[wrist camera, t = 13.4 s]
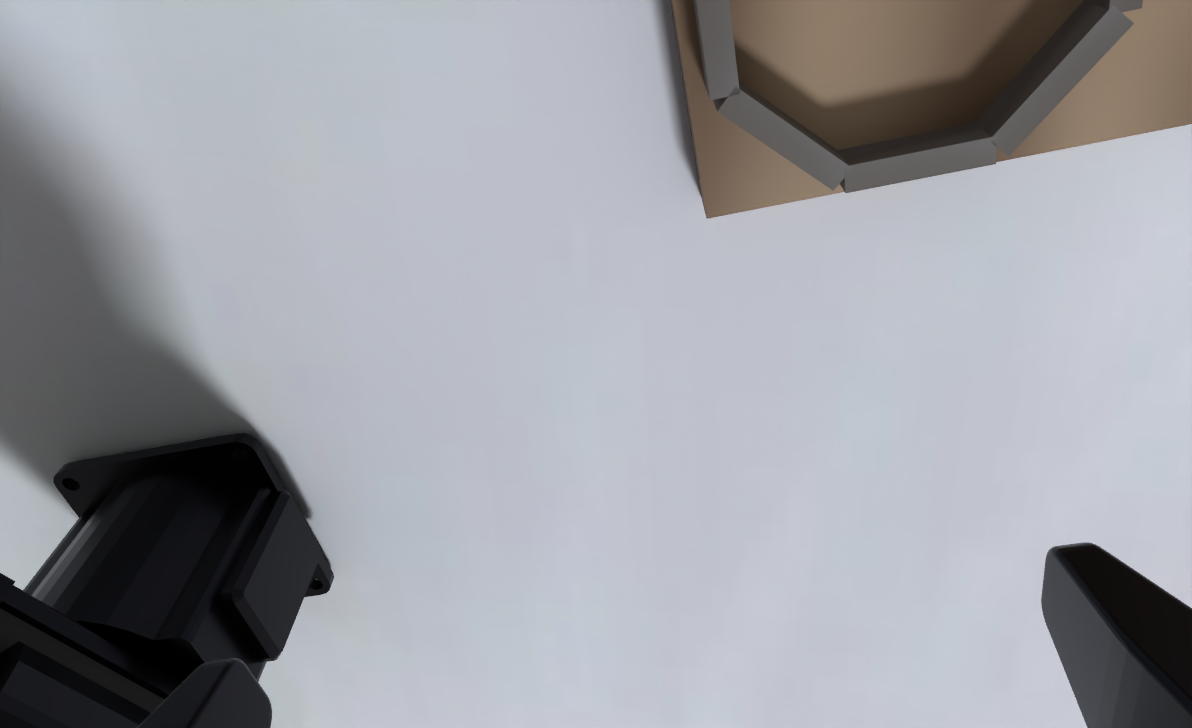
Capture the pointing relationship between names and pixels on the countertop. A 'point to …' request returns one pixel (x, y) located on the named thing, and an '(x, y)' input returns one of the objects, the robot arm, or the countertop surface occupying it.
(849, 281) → the countertop surface
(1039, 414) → the countertop surface
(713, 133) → the board
